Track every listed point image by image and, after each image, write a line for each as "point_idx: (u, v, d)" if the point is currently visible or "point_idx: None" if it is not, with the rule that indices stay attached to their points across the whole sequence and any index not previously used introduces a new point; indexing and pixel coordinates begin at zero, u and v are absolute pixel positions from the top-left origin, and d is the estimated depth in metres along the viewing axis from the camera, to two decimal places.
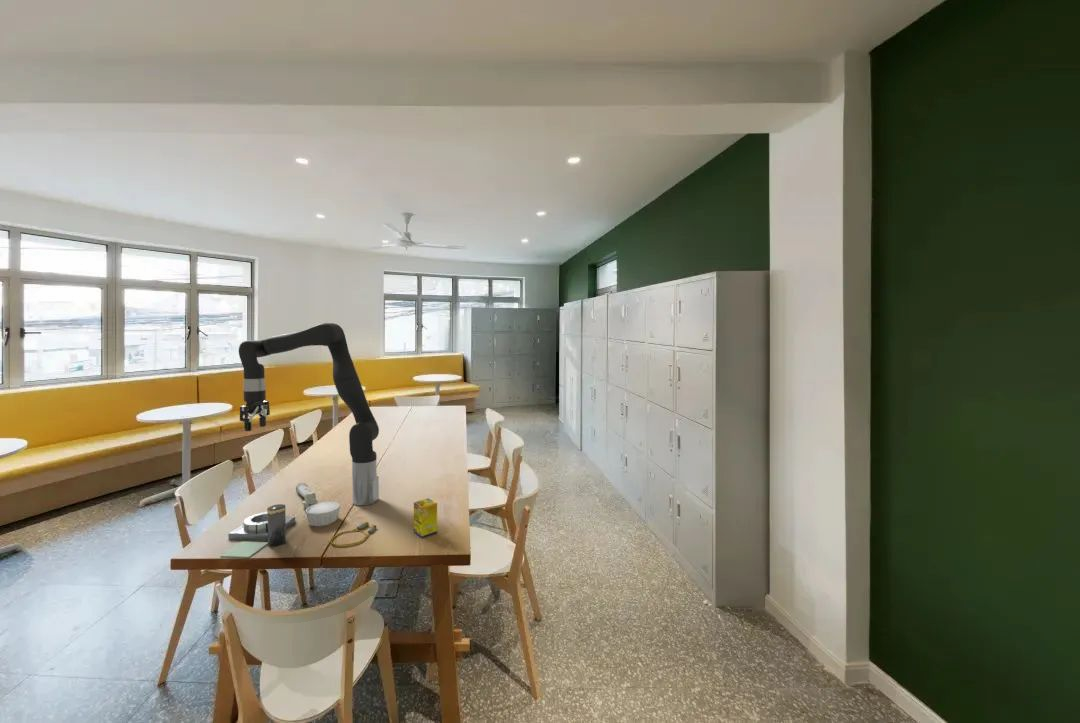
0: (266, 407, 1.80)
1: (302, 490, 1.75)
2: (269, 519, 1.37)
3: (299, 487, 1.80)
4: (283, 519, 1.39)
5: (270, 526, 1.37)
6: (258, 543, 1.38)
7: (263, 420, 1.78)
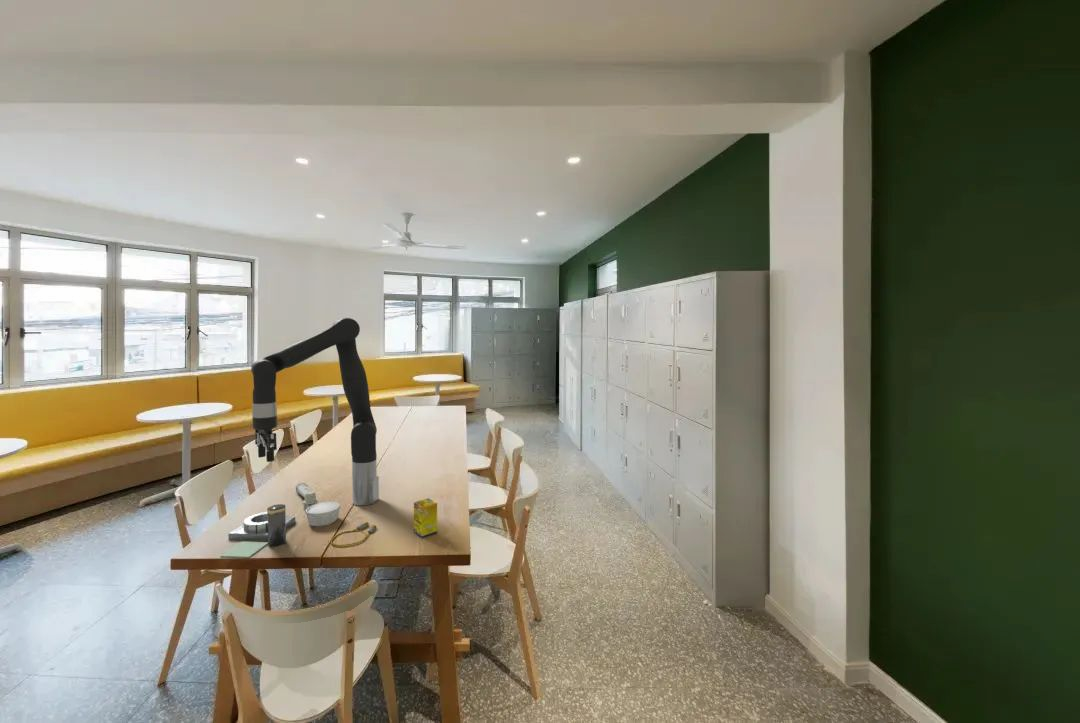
0: None
1: (302, 490, 1.75)
2: (269, 519, 1.37)
3: (299, 487, 1.80)
4: (283, 519, 1.39)
5: (270, 526, 1.37)
6: (258, 543, 1.38)
7: (264, 449, 1.57)
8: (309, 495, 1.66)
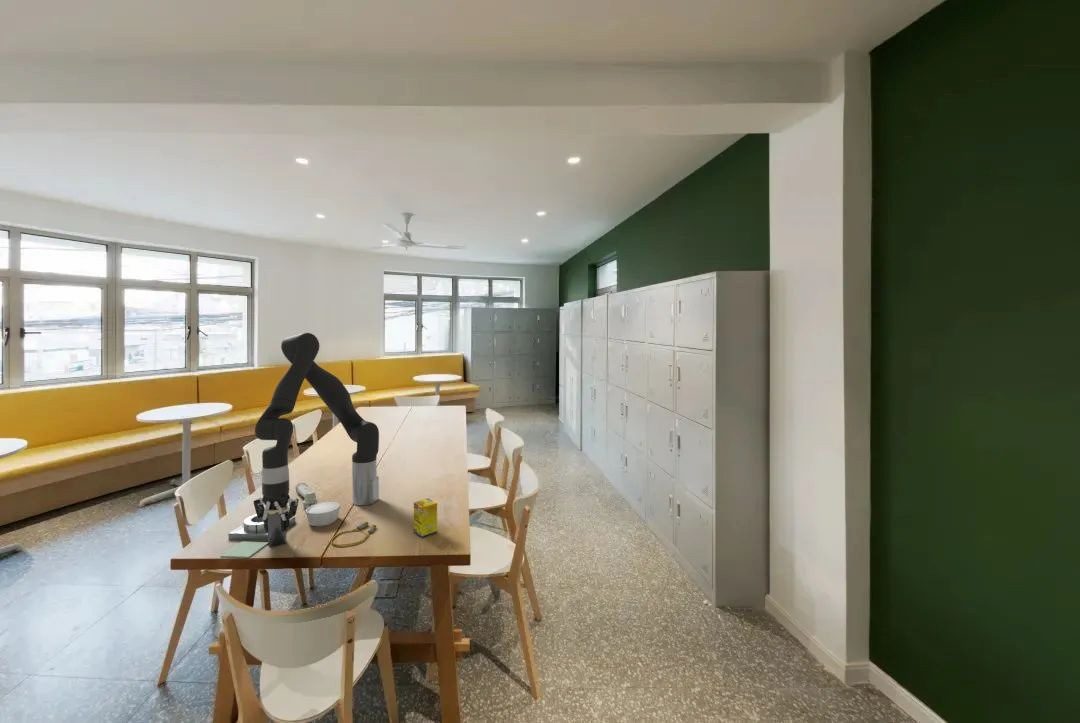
0: (262, 505, 1.40)
1: (302, 490, 1.75)
2: (269, 519, 1.37)
3: (299, 487, 1.80)
4: None
5: (270, 526, 1.37)
6: (258, 543, 1.38)
7: None
8: (309, 495, 1.67)
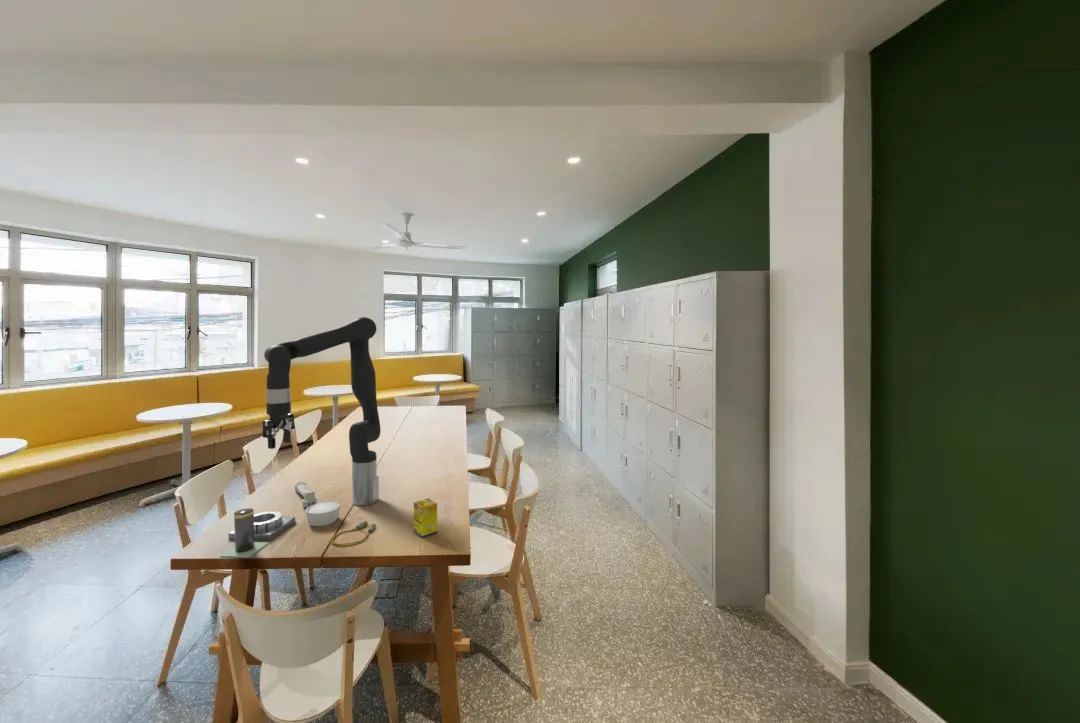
0: None
1: (301, 489, 1.76)
2: (244, 523, 1.32)
3: (298, 486, 1.81)
4: None
5: (246, 530, 1.33)
6: (258, 543, 1.38)
7: None
8: (308, 494, 1.68)
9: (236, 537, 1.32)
